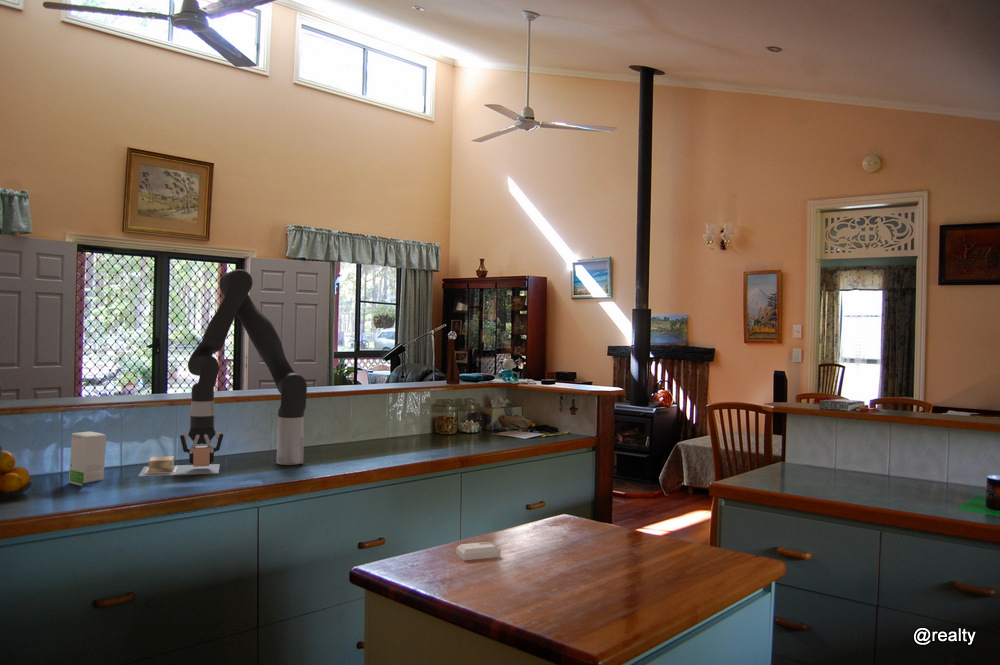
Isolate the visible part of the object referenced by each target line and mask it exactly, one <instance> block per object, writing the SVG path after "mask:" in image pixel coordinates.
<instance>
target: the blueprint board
mask: <svg viewBox="0 0 1000 665" xmlns="http://www.w3.org/2000/svg"><path fill="white" fill-rule="evenodd" d="M220 467H221V464H220V463H213V464H212V463H211V464H210V465H209V466H200V467H193V465H191V464H185V465H184V464H182V465H177V464H176V465H175V464H174V469H173V471H172V472H155V473H148V471H149V465H148V466H143V468H142V470H141V471H140V473H139V474H138V477H157V476H184V475H185V476H187V475H211V474H220Z"/></svg>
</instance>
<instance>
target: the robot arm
mask: <svg viewBox="0 0 1000 665" xmlns="http://www.w3.org/2000/svg"><path fill="white" fill-rule="evenodd" d="M218 285H219V289H220V291H221V293H222V294H223V299H222V302H221V303H220V306H218V309H217V310H216V312H215V313H214V315H213V316H212V318H211V320H210V321H209V323H208V325H207V327H206V329H205V331H204V334H203V337H202V339H201V341H200V343H199V344H198V345H197V346H196V348H195V349H194V351H193V352H192V354H191V355H190V356H189V360H188V361H187V362H188V363H187V369H188V372H189V373H190V374H192V375H193V376H198V377H199V379H198V382H196V383H194V384H192V386H191V401H190V402H191V403H190V411H189V414H190V416H189V422H190V423H189V431H188V433H181V434H180V435H179V438H180V441H181V446H182V450H183V452H184V453H188V455H189V456H188V458H189V460H188V462H189V464H190V465H193V449H194V448H195V447H196V446H197V445H201V444H202V445H206V446H208V448H210V460H209V464H212V463H214V461H215V452H218V451H220V449H221V446H222V441H223V439H224V432H216V431H215V386H216V383H217V379H218V377H219V376H218V375H219V372H220V365H219V361H218V360H217V357H215V356H213V355H214V354H215V353H218V352H220V351H221V350H222V348H223V346H224V344H225V343H226V340H227V336H228V335H229V331H230V329H231V327H232V324H233V321H234V320H235V318H236V316H237V317H238V318H239V320H240V322H241V324H242V327H243V328H244V330H245V332H246V333H247V336H248V337H249V339H250V341H251V342H252V345H253V347H254V348H255V349H256V351H257V353H258V355H259V356H260V358H261V359H262V361H263V362H264V364H265V365H266V367H267V368H268V370H269V372H270V375H271V377H272V380H273V382H274V384H275V387H276V389H277V390H278V392H279V394H280V395H281V396H280V406H279V408H278V410H277V411H278V412H277V433H276V434H277V435H276V436H277V437H276V438H277V439H276V440H277V442H276V464H277V465H281V466H282V465H285V466H289V465H291V466H292V465H294V466H295V465H299V464H300V465H301V464H302V465H303V464H304V448H305V447H304V445H305V444H304V443H305V439H304V429H305V428H304V427H305V426H304V423H305V411H306V408H307V407H306V406H307V394H308V393H307V391H308V386H307V382H306V381H307V380H306V379H305V378H304V377H303V376H302V375H300V374H298V373H296V372H295V371H294V369H293V368H292V367H291V364H290V363H289V361H288V359H287V358H286V355H285V351H284V347H283V344H282V341H281V338H280V336H279V334H278V332H277V331H276V328H275V326H274V324H273V323H272V322H271V320H270V319H269V318H268V317H267V316H266V315H265V314H264V313H263V312H262V311H261V310H260V309H259V308H258V307H257V306H256V304H254V302H253V300H252V299H251V297H250V294H249V293H250V291H251V290H252V287H253V278H252V275H251V274H250V272H248V271H246V270H245V269H239V268H238V269H235V270H231V271H229V272H225V273H224V274H222V276H221V277H220V278H219V284H218ZM188 437H189V438H190V439H191V441H192V444H191V447H190V448H189V447H188V444H187V440H188ZM214 437H216V440H217V443H216V446H215V447H213V446H214V445H213V443H212V440H213V438H214Z"/></svg>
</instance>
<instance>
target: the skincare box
mask: <svg viewBox="0 0 1000 665" xmlns="http://www.w3.org/2000/svg"><path fill="white" fill-rule="evenodd" d="M70 440H71V443H70V458H69V459H70V460H69V470H68V471H69V473H68V475H69V476H68V483H69V484H73V485H76V486H83V484H84V483H85V484H87V483H92V482H98V481H103V480H104V475H105V474H104V473H105V460H106V446H107V434H104V433H101V432H95V431H92V430H91V431H90V430H89V431H83V432H82V431H81V432H73V433H71V439H70ZM83 487H86V486H83Z"/></svg>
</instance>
